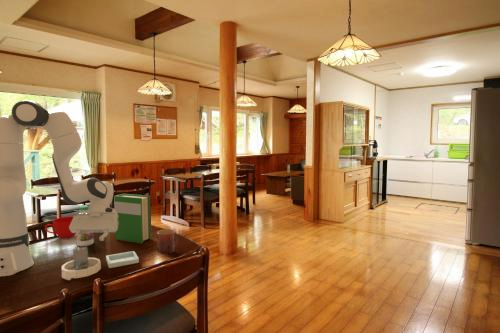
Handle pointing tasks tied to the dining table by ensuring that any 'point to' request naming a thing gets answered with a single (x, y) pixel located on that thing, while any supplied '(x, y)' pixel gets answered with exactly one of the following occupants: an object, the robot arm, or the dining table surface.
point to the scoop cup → (80, 258)
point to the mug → (166, 240)
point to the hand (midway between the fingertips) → (90, 240)
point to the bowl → (70, 273)
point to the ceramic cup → (62, 227)
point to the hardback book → (133, 217)
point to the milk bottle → (86, 237)
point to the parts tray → (122, 259)
